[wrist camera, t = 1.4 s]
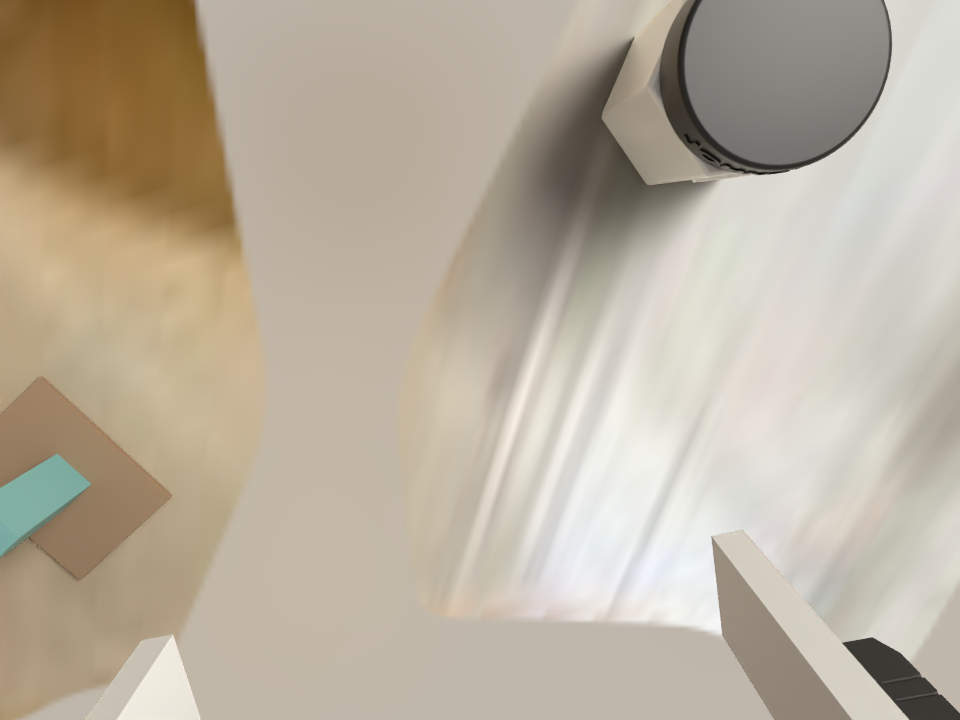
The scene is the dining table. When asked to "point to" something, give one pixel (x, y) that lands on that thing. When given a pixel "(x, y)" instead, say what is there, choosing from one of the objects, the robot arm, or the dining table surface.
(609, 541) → the dining table surface
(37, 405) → the teal post on base
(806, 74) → the jar
